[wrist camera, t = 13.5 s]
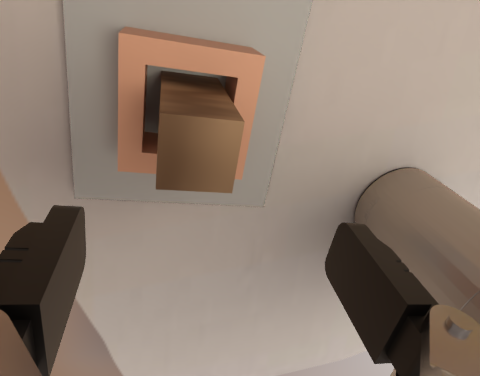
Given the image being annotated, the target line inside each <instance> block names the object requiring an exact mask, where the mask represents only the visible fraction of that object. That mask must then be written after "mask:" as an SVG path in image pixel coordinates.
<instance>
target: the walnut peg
mask: <svg viewBox="0 0 480 376" xmlns="http://www.w3.org/2000/svg"><path fill="white" fill-rule="evenodd" d="M244 123H245V121H244V120H243V118H242V117H241V115H240V113H239V112H238V110H237V108H236V107H235V105H234V104H233V102H232V100H231V99H230V97H229V96H228V94H227V92H226V91H225V89H224V87H223V86H222V84H221V83H220V81H219V79H218V78H215V77H208V76H200V75H193V74H185V73H177V72H170V71H161V88H160V106H159V124H158V146H157V168H156V190H176V191H195V192H215V193H232V191H233V186H234V180H235V174H236V169H237V163H238V157H239V152H240V146H241V140H242V135H243V129H244Z"/></svg>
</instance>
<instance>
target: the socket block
mask: <svg viewBox="0 0 480 376" xmlns="http://www.w3.org/2000/svg"><path fill="white" fill-rule="evenodd" d="M312 1H313V0H63V15H64V32H65V49H66V66H67V83H68V100H69V116H70V133H71V150H72V167H73V184H74V198H78V199H99V200H120V201H141V202H163V203H184V204H205V205H226V206H247V207H264V204H265V199H266V195H267V191H268V187H269V183H270V178H271V174H272V170H273V166H274V161H275V157H276V153H277V149H278V145H279V140H280V136H281V132H282V128H283V124H284V119H285V115H286V111H287V107H288V103H289V98H290V94H291V90H292V86H293V81H294V77H295V73H296V69H297V65H298V60H299V56H300V52H301V48H302V44H303V39H304V35H305V31H306V27H307V22H308V18H309V14H310V10H311V6H312ZM161 71H170V72H177V73H185V74H193V75H200V76H208V77H215V78H218V79H219V81H220V83H221V84H222V86H223V87H224V89H225V91H226V92H227V94H228V96H229V97H230V99H231V100H232V102H233V104H234V105H235V107H236V108H237V110H238V112H239V113H240V115H241V117H242V118H243V120H244V121H245V123H244V129H243V135H242V140H241V146H240V152H239V157H238V163H237V169H236V174H235V180H234V186H233V191H232V193H215V192H195V191H176V190H156V168H157V146H158V124H159V106H160V88H161Z"/></svg>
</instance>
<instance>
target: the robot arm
mask: <svg viewBox="0 0 480 376" xmlns="http://www.w3.org/2000/svg"><path fill="white" fill-rule="evenodd" d="M85 258H86V239H85V213H84V208H83V207H75V206H58V205H54V206H53V207H52V208H51V210H50V212H49V214H48V215H47V217H46V219H45V221H44V223H36V222H30V223H28V224H27V225H26V226H24V227H23V228H21V229H20V230H18V231H17V232H15V233H14V234H13V236H12V237H11V239H10V240H9V242H8V243H7V245H6V246H5V250H3V251H2V252H1V254H0V376H50V374H51V371H52V367H53V364H54V361H55V358H56V355H57V351H58V349H59V346H60V342H61V339H62V336H63V333H64V330H65V327H66V323H67V320H68V317H69V314H70V311H71V308H72V305H73V302H74V299H75V295H76V292H77V289H78V286H79V283H80V280H81V277H82V274H83V270H84V265H85ZM325 271H326V275H327V277H328V279H329V281H330V283H331V285H332V287H333V288H334V290H335V292H336V294H337V296H338V298H339V299H340V301H341V303H342V305H343V307H344V309H345V310H346V312H347V314H348V316H349V318H350V320H351V322H352V323H353V325H354V327H355V329H356V331H357V333H358V334H359V336H360V338H361V340H362V342H363V344H364V345H365V347H366V349H367V351H368V353H369V355H370V356H371V358H372V360H373V362H374V364H379V363H380V364H381V363H392V365H393V366H394V370H393V372H392V373H391V375H390V376H480V209H478V208H477V207H475V206H474V205H472V204H471V203H470V202H468V201H467V200H465V199H464V198H462V197H461V196H459V195H458V194H457V193H455V192H454V191H452V190H451V189H450V188H448V187H447V186H445V185H444V184H442V183H441V182H439V181H438V180H436V179H435V178H433V177H432V176H431V175H429V174H428V173H426V172H425V171H422V170H420V169H416V168H404V169H398V170H395V171H392V172H390V173H388V174H386V175H384V176H382V177H380V178H379V179H378V180H376V181H375V182H374V183H373V184H372V185H371V186H370V187H369V188H368V189H367V190H366V191H365V192H364V194H363V195H362V196H361V198H360V200H359V202H358V204H357V207H356V211H355V223H341V224H340V225H339V226H338V228H337V230H336V233H335V236H334V238H333V241H332V244H331V246H330V249H329V252H328V254H327V257H326V261H325Z"/></svg>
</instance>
